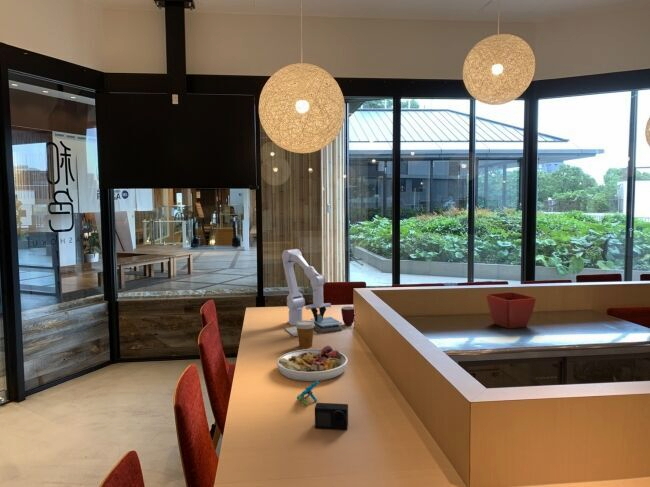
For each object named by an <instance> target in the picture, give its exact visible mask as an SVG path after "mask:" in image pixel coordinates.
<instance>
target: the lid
mask: <svg viewBox="0 0 650 487" xmlns="http://www.w3.org/2000/svg"><path fill="white" fill-rule="evenodd" d="M310 321H313V322H315V323H316V324H318V325H320V326H321V327H325V326H334V325H340V326H341V325H343V323H342V322H341V321H339V320H337V319H336V318H333V317H332V316H326V317H325V316H323V320H322V315H320V313H317V321H315V319H314V318H310Z"/></svg>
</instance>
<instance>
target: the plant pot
mask: <svg viewBox="0 0 650 487" xmlns="http://www.w3.org/2000/svg"><path fill="white" fill-rule="evenodd" d="M536 299H537V298H536V297H534V296H530V295H526V294H522V293H518V292H514V291H513V292H498V293H487V294H486V300H487V306H488V310H489V312H490V313H489V314H490V317H491V319H492V322H493V324H494V325H497V326H500V327H503V328H506V329H517V328H525V327H527V326H528V324H529V323H530V322H529V321H530V319H531V317H532V314H533V311H534V308H535V304H536Z"/></svg>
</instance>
